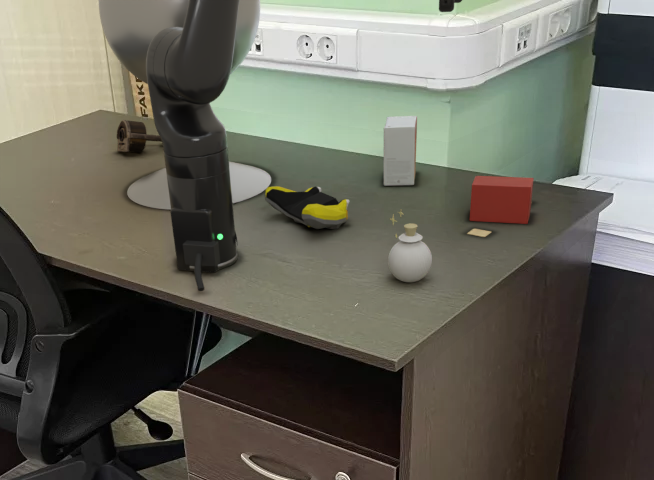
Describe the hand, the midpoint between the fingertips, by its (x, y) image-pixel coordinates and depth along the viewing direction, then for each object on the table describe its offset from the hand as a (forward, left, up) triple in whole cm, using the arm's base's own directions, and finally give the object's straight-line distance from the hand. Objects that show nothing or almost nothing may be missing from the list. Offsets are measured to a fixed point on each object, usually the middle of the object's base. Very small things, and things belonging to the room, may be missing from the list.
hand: (450, 7), depth 135 cm
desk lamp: (-1, +46, -30) cm, 55 cm away
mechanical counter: (+19, +67, -30) cm, 76 cm away
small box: (+7, +9, -30) cm, 32 cm away
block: (-10, -11, -30) cm, 34 cm away
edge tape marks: (-10, -11, -30) cm, 34 cm away
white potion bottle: (-36, -1, -30) cm, 47 cm away
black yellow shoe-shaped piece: (-17, +19, -30) cm, 40 cm away
